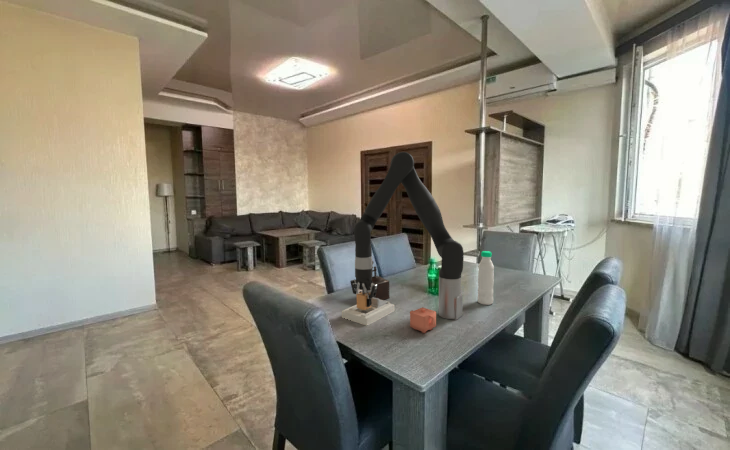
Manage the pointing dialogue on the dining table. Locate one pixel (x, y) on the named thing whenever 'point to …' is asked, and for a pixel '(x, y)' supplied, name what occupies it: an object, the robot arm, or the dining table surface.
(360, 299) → the plug
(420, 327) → the pink cube teapot
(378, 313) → the socket plate
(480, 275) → the white milk bottle
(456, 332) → the dining table surface
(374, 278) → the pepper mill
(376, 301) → the grey block
